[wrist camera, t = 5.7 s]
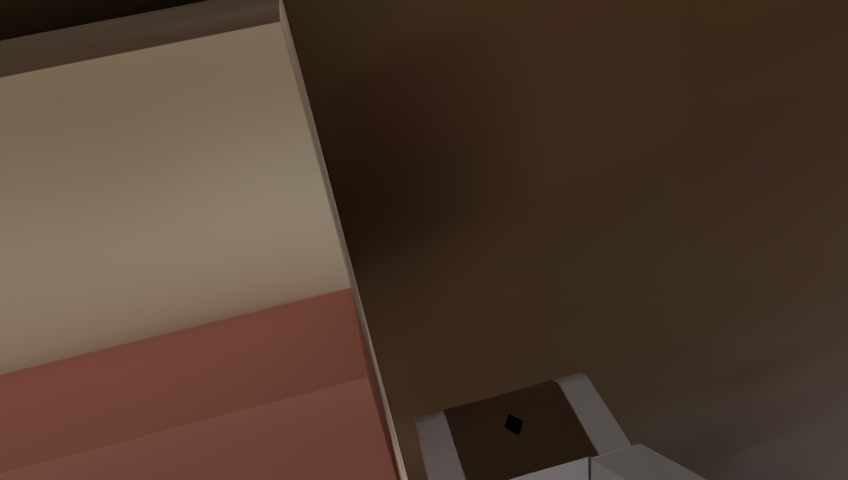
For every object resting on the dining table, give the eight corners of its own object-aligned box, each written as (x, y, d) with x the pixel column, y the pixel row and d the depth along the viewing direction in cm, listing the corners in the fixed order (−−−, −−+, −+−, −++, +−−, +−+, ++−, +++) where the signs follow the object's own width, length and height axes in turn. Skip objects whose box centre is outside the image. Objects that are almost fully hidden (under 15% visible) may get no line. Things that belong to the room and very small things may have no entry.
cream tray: (414, 505, 17) (438, 613, 15) (-23, 632, 16) (-80, 773, 13) (279, -14, 10) (279, 21, 7) (-561, 150, 8) (-920, 262, 6)
